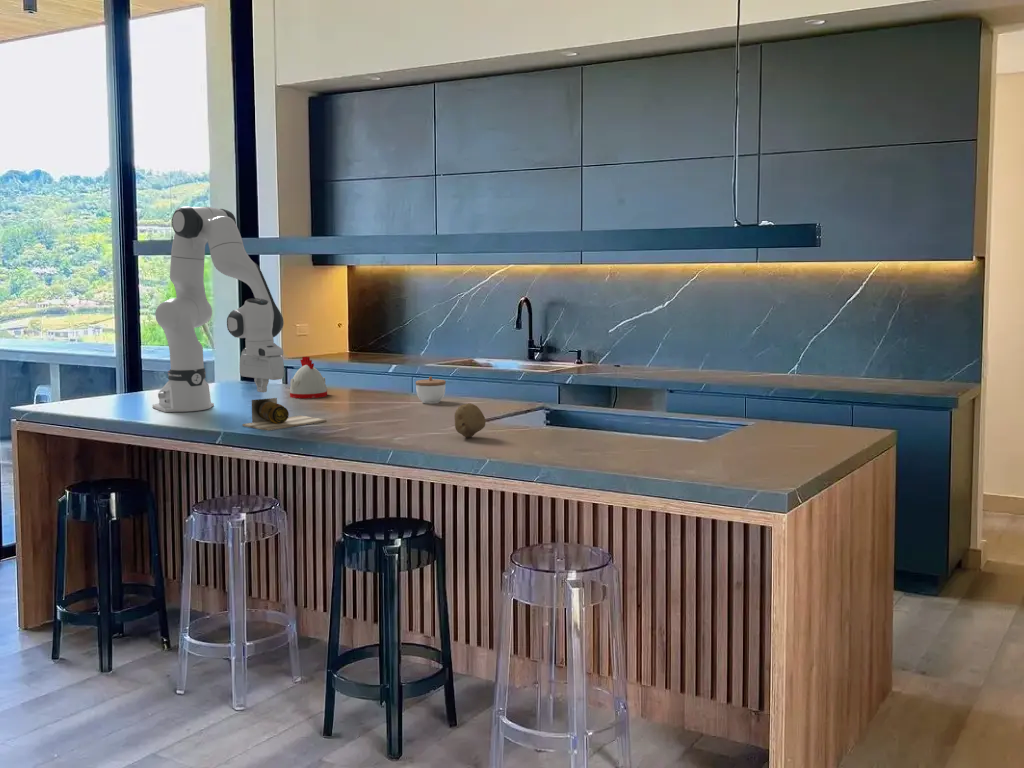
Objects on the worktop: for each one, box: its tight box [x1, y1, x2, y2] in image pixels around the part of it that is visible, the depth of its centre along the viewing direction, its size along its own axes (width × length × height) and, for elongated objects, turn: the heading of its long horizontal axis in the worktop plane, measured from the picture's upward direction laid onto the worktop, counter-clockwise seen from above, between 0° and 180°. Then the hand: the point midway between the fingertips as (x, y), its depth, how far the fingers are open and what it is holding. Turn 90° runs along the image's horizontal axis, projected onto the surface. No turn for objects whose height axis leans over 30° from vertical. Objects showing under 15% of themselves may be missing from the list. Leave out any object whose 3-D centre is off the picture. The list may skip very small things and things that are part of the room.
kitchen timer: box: [289, 356, 328, 399], centre depth 395 cm, size 14×14×15 cm
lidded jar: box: [415, 376, 447, 405], centre depth 373 cm, size 11×11×9 cm
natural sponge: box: [454, 402, 487, 439], centre depth 302 cm, size 9×9×10 cm
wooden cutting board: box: [242, 415, 327, 431], centre depth 331 cm, size 14×22×1 cm, turn 137°
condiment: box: [251, 397, 290, 423], centre depth 330 cm, size 7×8×12 cm
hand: (262, 391), depth 337 cm, fingers closed
